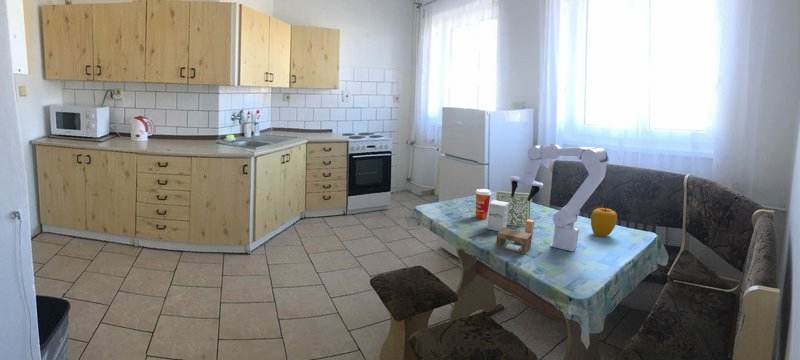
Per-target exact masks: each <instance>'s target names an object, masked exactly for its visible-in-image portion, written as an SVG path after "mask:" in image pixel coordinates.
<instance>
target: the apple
mask: <svg viewBox="0 0 800 360" xmlns="http://www.w3.org/2000/svg"><path fill="white" fill-rule="evenodd" d="M617 221H618V213H617V212H616V211H614V210H612V209H611V208H607V207H605V208H604V207H597V208H595V209H594V210H593V211H592V213H591V216H590V226H591V230H592V233H593V235H595V236H597V237H601V238H603V237H604V238H605V237H608V236H609V235H610V234H611V233H612V232H613V231H614V229H615V227H616V226H617Z"/></svg>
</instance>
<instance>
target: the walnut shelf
mask: <svg viewBox="0 0 800 360" xmlns="http://www.w3.org/2000/svg"><path fill="white" fill-rule="evenodd" d="M532 238H533V234H531V233H526V232H525V231H521V230H517V229H512V228H507V227H506V228H503V229H502V230H500V231H497V234H496V243H495V248H496V249H501V248H502V247H503V246H505V244H506V243H507V241H511V242H514V241H515V242H519V243H522V244H521V252H520V254H521V255H526V254H527V253H528V252H529V251H530V250H531V248H532V247H531V246H532Z"/></svg>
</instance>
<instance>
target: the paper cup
mask: <svg viewBox="0 0 800 360" xmlns="http://www.w3.org/2000/svg"><path fill="white" fill-rule="evenodd" d="M491 195H492V192H491V190H490V189H487V188H486V189H485V188H479V189H478V188H477V189H476V191H475V219H478V220H483V221H484V220H488V215H489V206H490V203H491V202H490V201H491Z"/></svg>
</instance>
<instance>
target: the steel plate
mask: <svg viewBox="0 0 800 360" xmlns="http://www.w3.org/2000/svg"><path fill="white" fill-rule="evenodd" d="M504 249H505V250H509V251H513V252H518V251H520V249H522V245H521V246H520V245H518V244H516V245H515V244H512V243H508V244H507V245H505V247H504Z"/></svg>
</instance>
